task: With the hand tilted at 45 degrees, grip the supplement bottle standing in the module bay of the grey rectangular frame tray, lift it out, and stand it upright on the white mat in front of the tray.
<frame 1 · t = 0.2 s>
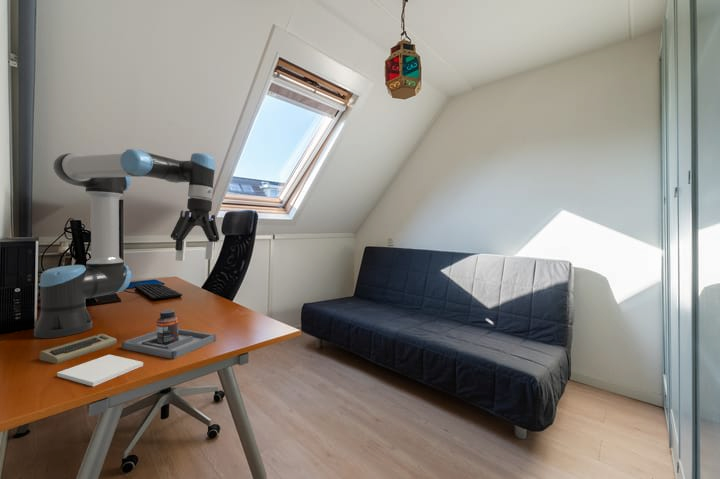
hand: (195, 260, 106), 27 cm above the table, tool pointing down, fingers open, 13 cm apart
supplement bottle: (167, 346, 99), resting in grey rectangular frame tray
white mat: (102, 370, 81), on the table
computer: (80, 353, 93), on the table
grey rectangular frame tray: (167, 345, 99), on the table
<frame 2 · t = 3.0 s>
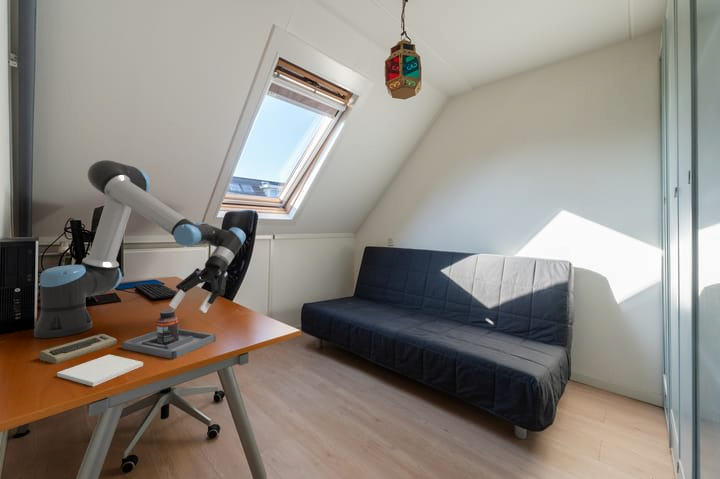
hand: (186, 309, 104), 10 cm above the table, tool tilted 45°, fingers open, 13 cm apart
nothing on the table moved.
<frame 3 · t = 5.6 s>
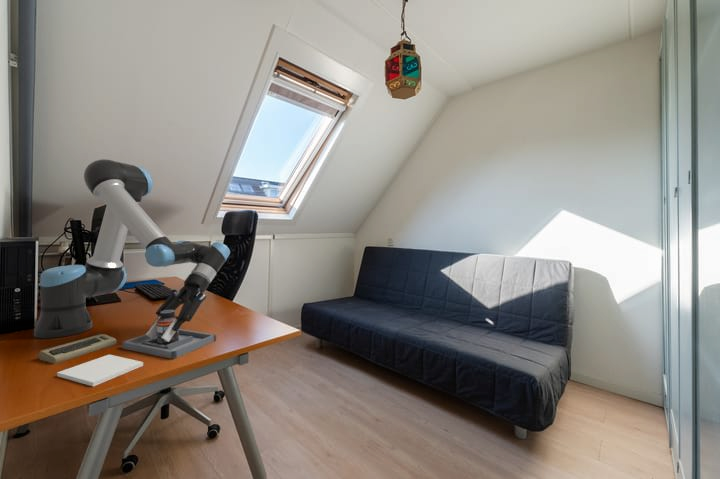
hand: (157, 338, 95), 4 cm above the table, tool tilted 45°, fingers closed on supplement bottle, 6 cm apart
supplement bottle: (167, 346, 99), resting in grey rectangular frame tray, touching gripper
everything else where it was.
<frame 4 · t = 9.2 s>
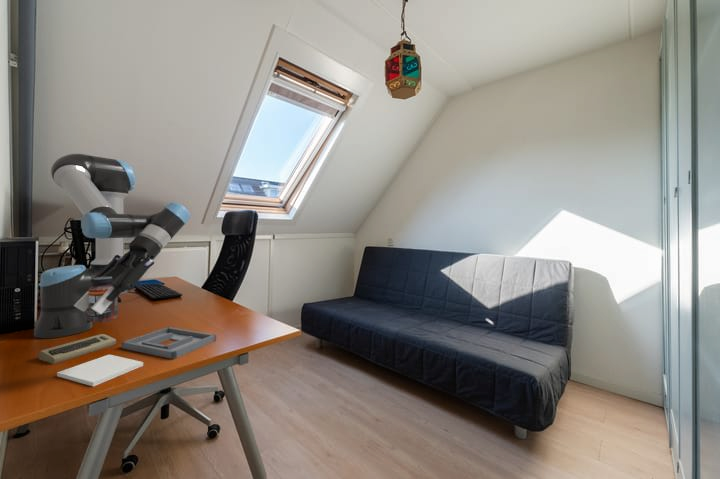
hand: (87, 309, 77), 17 cm above the table, tool tilted 45°, fingers closed on supplement bottle, 6 cm apart
supplement bottle: (103, 320, 81), point 13 cm above the table, touching gripper
everything else where it was.
when the fingers open (6 cm above the table, at t = 12.7 s): supplement bottle drops 1 cm, resting on white mat.
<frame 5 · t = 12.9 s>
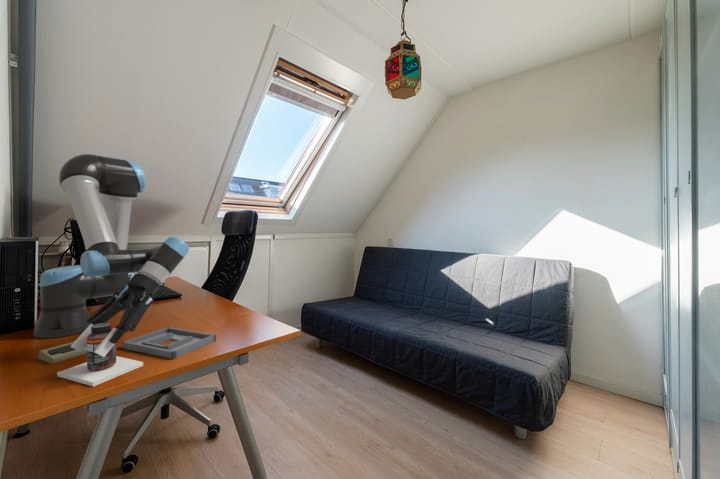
hand: (87, 351, 78), 6 cm above the table, tool tilted 45°, fingers open, 8 cm apart
supplement bottle: (101, 367, 81), point 1 cm above the table, touching white mat
everything else where it was.
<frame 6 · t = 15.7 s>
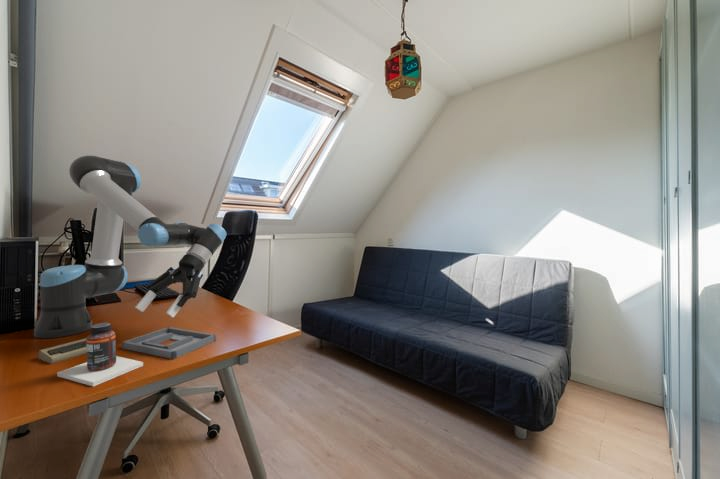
hand: (153, 312, 95), 12 cm above the table, tool tilted 45°, fingers open, 13 cm apart
nothing on the table moved.
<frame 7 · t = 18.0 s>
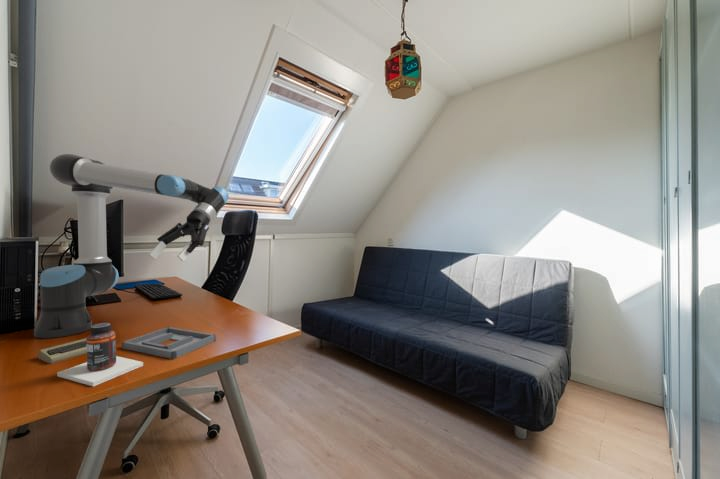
hand: (165, 258, 106), 28 cm above the table, tool tilted 45°, fingers open, 13 cm apart
nothing on the table moved.
at the end: supplement bottle inside the target area on the white mat (0.2 cm from its centre), point 0.8 cm above the white mat's base; supplement bottle tilted 0°; the gripper is holding nothing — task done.
